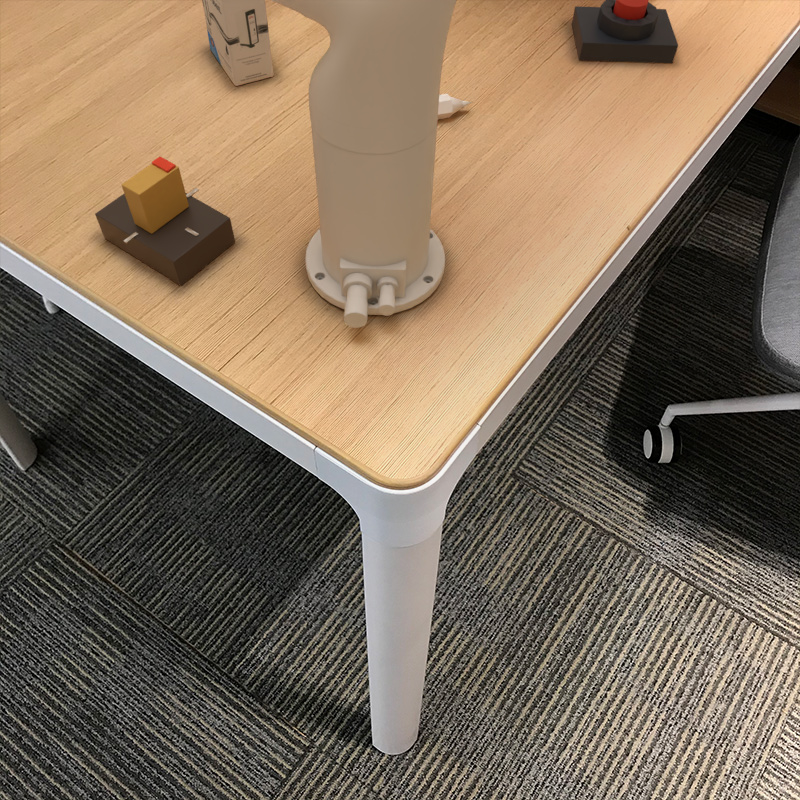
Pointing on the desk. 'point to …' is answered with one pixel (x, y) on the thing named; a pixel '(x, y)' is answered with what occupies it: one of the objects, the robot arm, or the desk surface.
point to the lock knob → (155, 195)
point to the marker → (449, 105)
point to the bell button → (630, 9)
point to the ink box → (240, 38)
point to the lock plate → (170, 237)
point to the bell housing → (623, 35)
